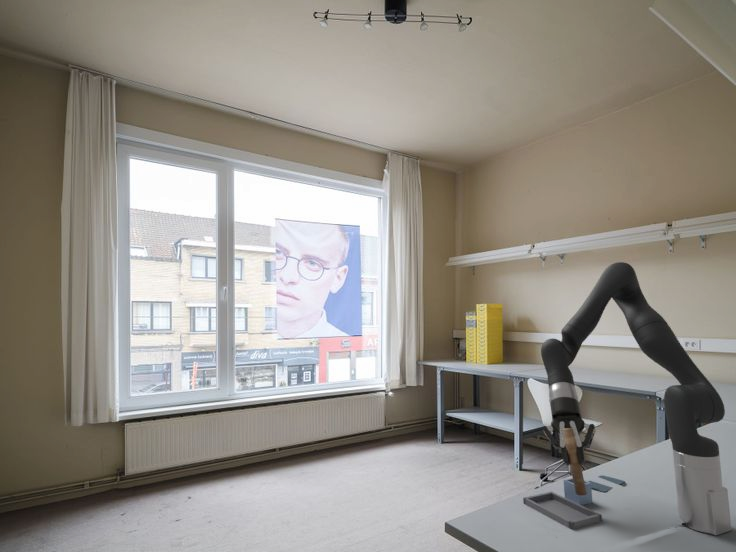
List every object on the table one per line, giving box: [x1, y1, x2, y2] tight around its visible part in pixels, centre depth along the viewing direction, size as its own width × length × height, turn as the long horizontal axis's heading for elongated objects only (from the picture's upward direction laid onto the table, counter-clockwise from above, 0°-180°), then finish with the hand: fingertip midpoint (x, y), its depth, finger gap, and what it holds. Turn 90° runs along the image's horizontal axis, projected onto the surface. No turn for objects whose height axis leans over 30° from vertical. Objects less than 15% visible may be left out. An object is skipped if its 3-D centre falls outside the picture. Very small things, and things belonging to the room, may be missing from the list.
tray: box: [522, 491, 603, 530], centre depth 111 cm, size 16×10×2 cm, turn 22°
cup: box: [563, 477, 593, 506], centre depth 117 cm, size 5×5×6 cm
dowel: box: [562, 428, 587, 495], centre depth 112 cm, size 3×3×16 cm
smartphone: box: [587, 475, 627, 494], centre depth 129 cm, size 8×2×15 cm
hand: (574, 463), depth 111 cm, fingers closed on dowel, 2 cm apart
